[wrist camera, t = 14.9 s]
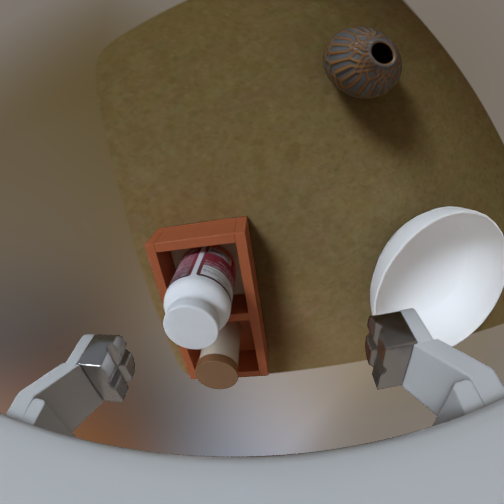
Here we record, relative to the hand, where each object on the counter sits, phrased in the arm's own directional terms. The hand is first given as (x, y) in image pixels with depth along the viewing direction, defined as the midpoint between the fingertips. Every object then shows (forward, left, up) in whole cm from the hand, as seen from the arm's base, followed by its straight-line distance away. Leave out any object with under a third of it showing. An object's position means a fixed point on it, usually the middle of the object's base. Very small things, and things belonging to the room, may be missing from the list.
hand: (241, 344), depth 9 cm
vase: (-2, +16, -24) cm, 29 cm away
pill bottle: (+3, -10, -23) cm, 25 cm away
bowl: (+21, +8, -24) cm, 33 cm away
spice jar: (+10, -16, -23) cm, 30 cm away
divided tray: (+6, -13, -24) cm, 28 cm away
